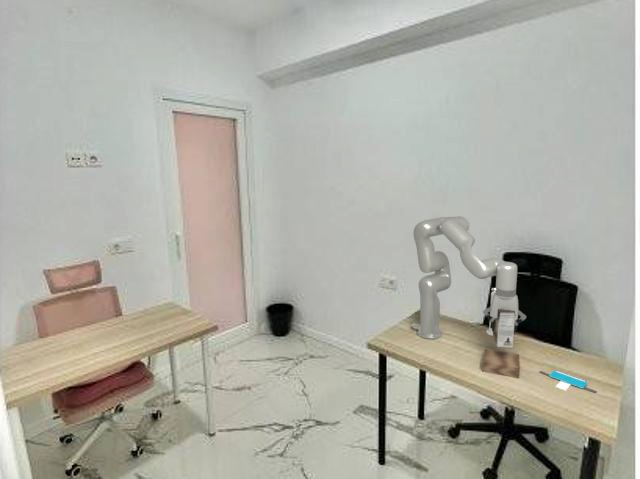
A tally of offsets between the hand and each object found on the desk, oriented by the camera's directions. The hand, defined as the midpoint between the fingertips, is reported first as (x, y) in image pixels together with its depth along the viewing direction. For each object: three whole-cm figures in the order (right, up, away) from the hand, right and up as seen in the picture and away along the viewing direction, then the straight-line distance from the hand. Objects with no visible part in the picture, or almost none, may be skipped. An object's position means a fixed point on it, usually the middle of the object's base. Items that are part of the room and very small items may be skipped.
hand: (503, 331), depth 163 cm
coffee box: (0, -5, +1) cm, 5 cm away
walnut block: (+1, -17, +4) cm, 18 cm away
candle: (+12, -9, +34) cm, 38 cm away
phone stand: (+21, -19, -8) cm, 30 cm away
